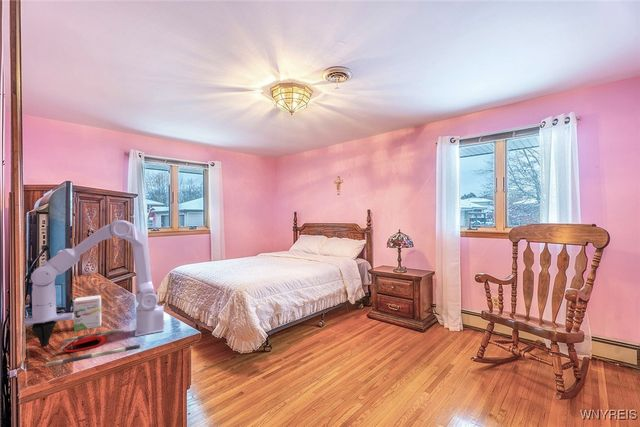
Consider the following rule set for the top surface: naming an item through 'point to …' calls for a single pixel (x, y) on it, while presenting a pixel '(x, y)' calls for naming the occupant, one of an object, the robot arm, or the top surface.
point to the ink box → (87, 312)
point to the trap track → (93, 353)
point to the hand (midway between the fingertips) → (44, 345)
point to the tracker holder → (84, 340)
